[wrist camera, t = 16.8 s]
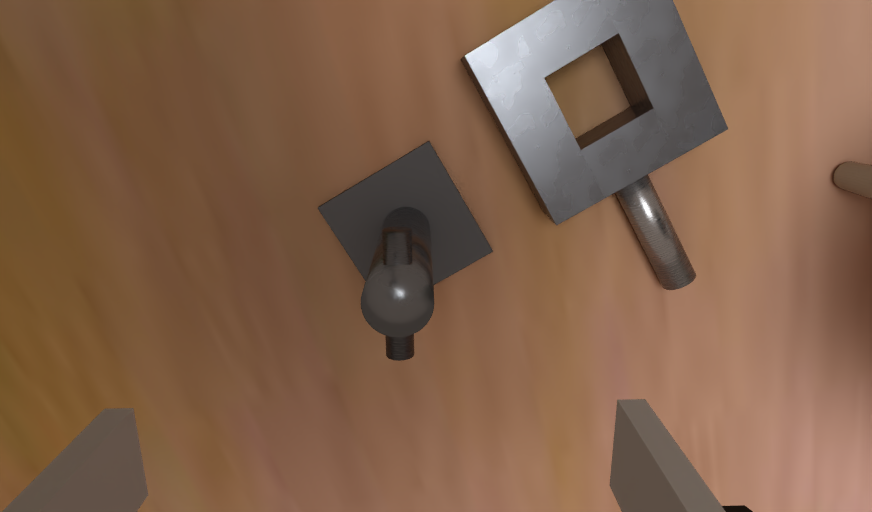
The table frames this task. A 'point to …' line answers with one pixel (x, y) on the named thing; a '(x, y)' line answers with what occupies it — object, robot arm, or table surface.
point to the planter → (855, 178)
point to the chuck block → (615, 138)
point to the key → (400, 281)
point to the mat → (417, 188)
